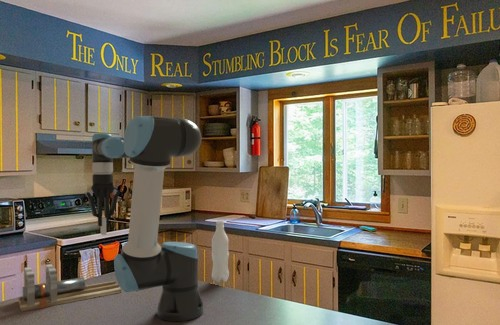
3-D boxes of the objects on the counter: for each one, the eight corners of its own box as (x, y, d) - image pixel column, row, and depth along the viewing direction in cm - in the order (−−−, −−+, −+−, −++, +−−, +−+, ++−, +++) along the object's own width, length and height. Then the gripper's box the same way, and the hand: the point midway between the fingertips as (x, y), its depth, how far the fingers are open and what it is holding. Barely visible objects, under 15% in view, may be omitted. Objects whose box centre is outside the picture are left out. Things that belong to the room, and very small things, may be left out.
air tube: (82, 289, 154) (81, 275, 154) (85, 292, 150) (84, 278, 150) (22, 299, 143) (22, 285, 143) (23, 303, 139) (23, 288, 139)
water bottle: (220, 277, 172) (219, 219, 172) (232, 280, 168) (232, 221, 167) (208, 281, 167) (207, 221, 166) (220, 285, 162) (220, 223, 162)
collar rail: (121, 292, 154) (121, 262, 153) (21, 312, 135) (21, 277, 135) (112, 284, 164) (112, 255, 164) (18, 301, 145) (18, 268, 145)
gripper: (117, 172, 162) (117, 231, 163) (82, 173, 155) (83, 234, 155) (122, 173, 156) (123, 233, 156) (87, 174, 149) (88, 237, 149)
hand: (103, 234), depth 156 cm, fingers closed
